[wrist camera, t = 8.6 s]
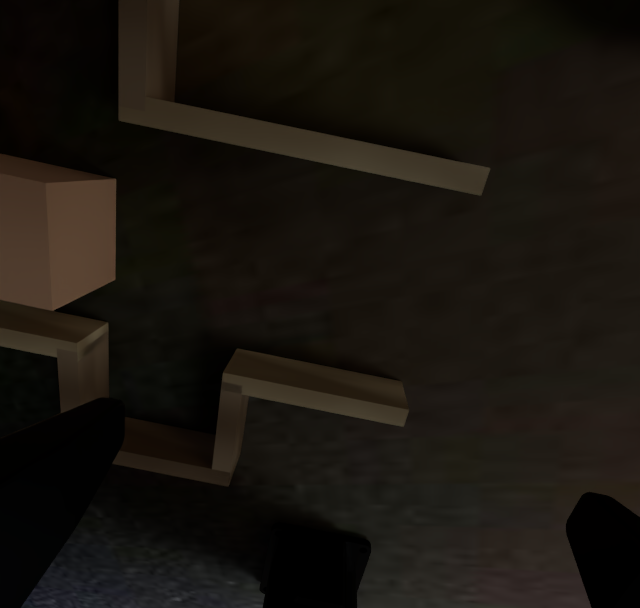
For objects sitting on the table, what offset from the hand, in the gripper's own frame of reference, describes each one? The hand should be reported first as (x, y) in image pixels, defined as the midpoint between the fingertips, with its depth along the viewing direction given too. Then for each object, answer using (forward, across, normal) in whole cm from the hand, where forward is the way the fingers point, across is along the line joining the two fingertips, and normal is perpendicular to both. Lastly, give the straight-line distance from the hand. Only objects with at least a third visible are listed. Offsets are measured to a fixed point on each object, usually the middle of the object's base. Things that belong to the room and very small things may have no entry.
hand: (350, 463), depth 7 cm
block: (+12, +15, 0) cm, 19 cm away
